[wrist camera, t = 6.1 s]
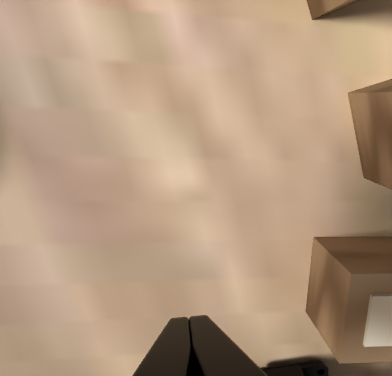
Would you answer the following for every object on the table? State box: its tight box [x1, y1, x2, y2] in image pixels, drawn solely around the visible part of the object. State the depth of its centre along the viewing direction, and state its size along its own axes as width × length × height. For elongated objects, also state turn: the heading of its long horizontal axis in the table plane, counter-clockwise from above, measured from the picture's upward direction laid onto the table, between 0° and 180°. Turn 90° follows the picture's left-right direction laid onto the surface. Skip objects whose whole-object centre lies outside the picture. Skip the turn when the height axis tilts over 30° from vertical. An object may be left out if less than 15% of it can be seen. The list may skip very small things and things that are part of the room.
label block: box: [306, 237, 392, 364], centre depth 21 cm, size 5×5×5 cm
